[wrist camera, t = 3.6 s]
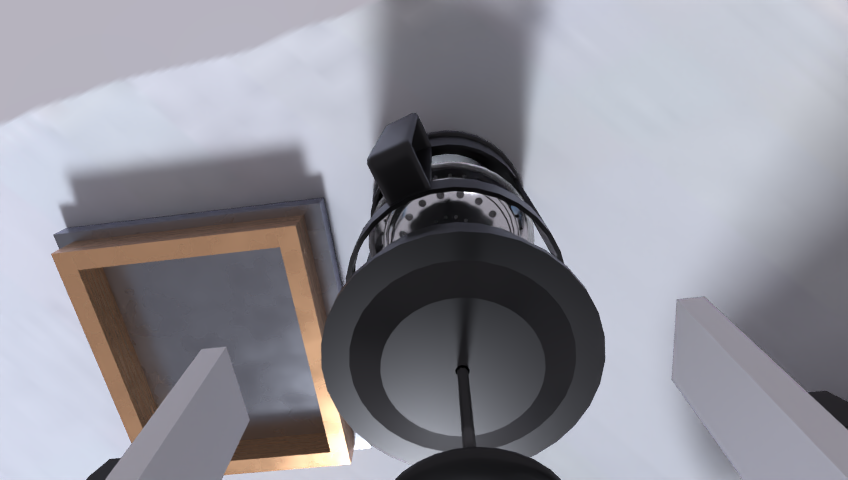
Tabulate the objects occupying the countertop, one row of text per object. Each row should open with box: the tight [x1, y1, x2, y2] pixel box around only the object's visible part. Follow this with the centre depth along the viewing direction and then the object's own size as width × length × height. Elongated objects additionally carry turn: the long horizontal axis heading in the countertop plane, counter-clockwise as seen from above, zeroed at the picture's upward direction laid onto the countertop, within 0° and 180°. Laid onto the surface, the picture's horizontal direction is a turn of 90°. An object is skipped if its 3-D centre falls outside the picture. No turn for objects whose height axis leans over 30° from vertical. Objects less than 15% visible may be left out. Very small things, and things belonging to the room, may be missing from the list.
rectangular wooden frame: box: [51, 198, 371, 475], centre depth 34 cm, size 17×19×3 cm
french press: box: [321, 113, 605, 480], centre depth 21 cm, size 12×9×23 cm
